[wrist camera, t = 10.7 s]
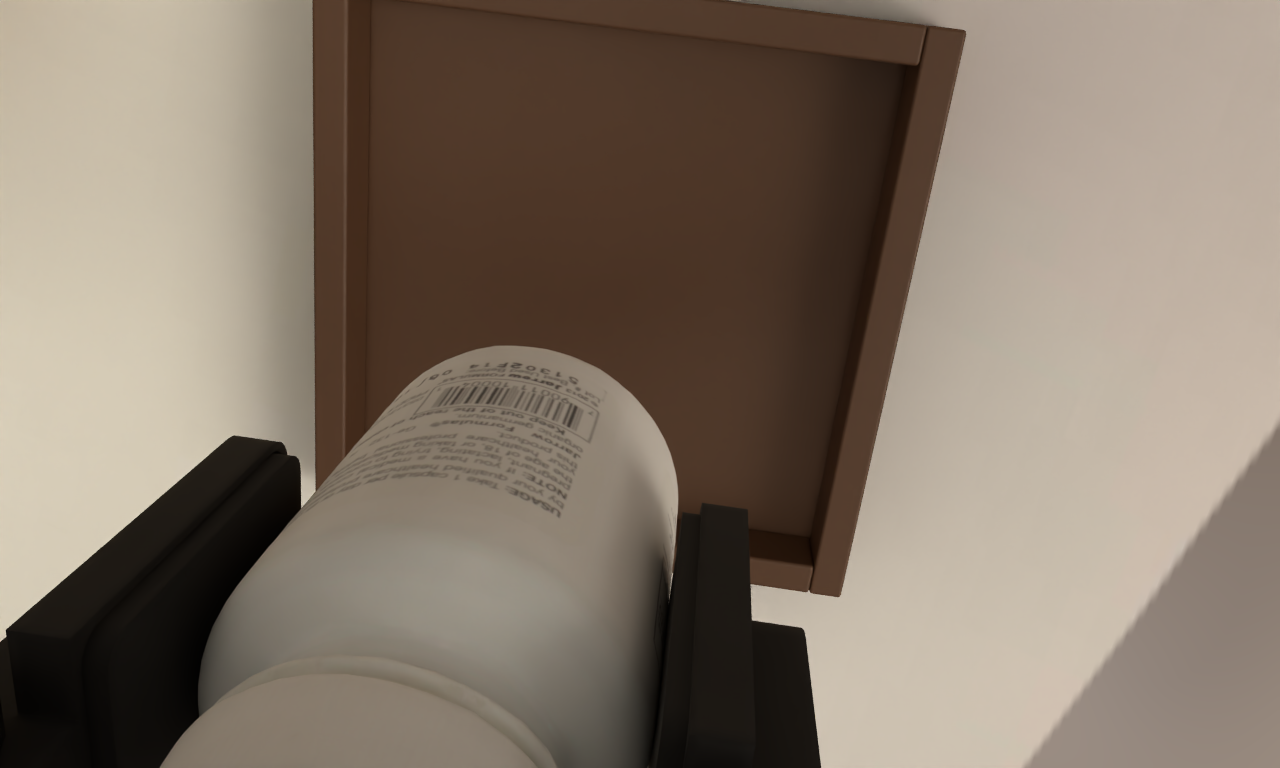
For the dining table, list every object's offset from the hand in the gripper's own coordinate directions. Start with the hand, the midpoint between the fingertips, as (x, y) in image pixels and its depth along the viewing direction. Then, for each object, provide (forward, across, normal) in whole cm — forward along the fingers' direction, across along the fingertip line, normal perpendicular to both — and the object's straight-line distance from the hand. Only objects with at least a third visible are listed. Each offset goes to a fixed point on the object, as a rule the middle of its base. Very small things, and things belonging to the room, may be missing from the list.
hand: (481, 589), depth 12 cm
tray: (+14, 0, 0) cm, 14 cm away
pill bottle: (+3, 0, 0) cm, 3 cm away
